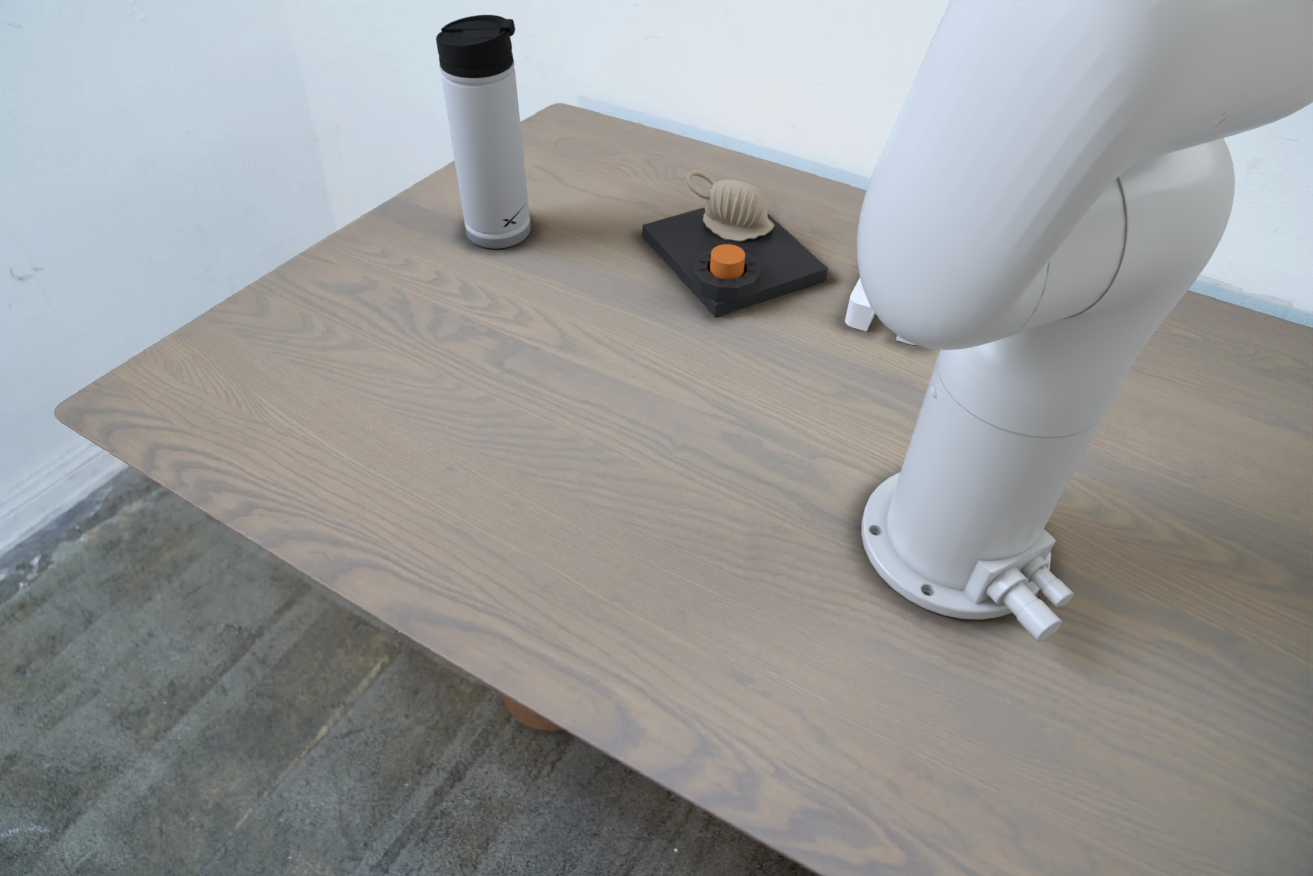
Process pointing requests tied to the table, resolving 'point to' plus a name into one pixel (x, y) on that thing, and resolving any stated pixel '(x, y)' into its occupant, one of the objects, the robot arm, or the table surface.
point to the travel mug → (485, 128)
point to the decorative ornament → (733, 208)
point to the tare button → (727, 261)
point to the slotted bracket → (861, 311)
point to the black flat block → (767, 266)
